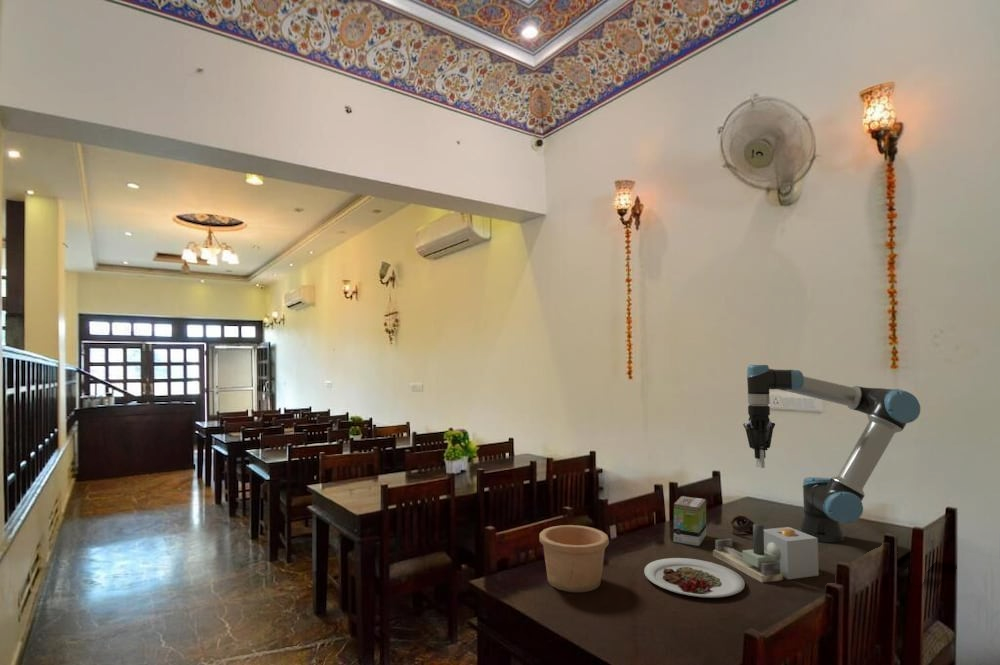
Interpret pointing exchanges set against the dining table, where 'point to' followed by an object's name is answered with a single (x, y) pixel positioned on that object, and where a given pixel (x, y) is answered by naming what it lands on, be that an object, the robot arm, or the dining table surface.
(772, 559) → the carriage
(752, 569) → the rail board
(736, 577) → the plated food
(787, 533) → the plunger
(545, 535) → the pottery
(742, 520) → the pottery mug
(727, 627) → the dining table surface
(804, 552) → the grey cube box
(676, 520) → the tea box
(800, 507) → the dining table surface
